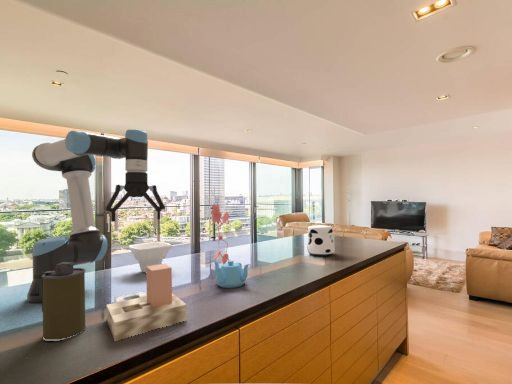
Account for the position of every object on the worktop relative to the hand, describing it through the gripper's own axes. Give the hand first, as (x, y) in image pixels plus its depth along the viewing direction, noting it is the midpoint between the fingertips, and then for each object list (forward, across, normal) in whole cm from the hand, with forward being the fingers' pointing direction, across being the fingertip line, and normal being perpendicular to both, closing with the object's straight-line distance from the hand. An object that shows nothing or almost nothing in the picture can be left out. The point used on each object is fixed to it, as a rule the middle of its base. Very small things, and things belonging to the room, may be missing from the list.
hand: (136, 229), depth 102 cm
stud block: (+24, +3, -19) cm, 31 cm away
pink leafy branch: (+28, +51, +36) cm, 68 cm away
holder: (+27, -2, -4) cm, 27 cm away
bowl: (+28, +16, +44) cm, 54 cm away
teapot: (+27, +37, -4) cm, 46 cm away
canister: (+27, -22, -13) cm, 37 cm away
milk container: (+26, +114, +14) cm, 118 cm away
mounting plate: (+26, -1, -19) cm, 33 cm away
